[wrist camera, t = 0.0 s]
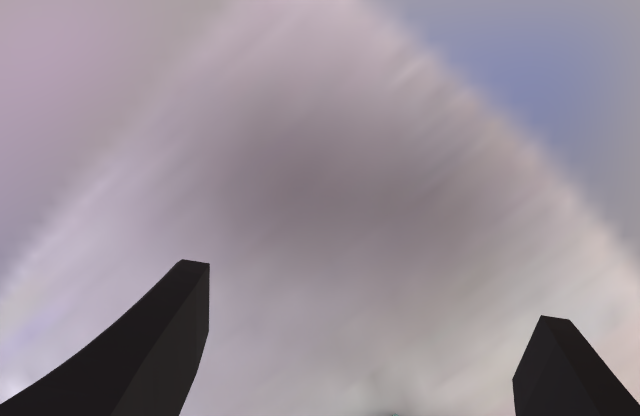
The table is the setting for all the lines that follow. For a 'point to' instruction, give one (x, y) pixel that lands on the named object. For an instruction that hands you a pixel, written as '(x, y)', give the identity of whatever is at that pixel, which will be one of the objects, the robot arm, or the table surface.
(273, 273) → the table surface
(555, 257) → the table surface
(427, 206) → the table surface
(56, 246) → the table surface
